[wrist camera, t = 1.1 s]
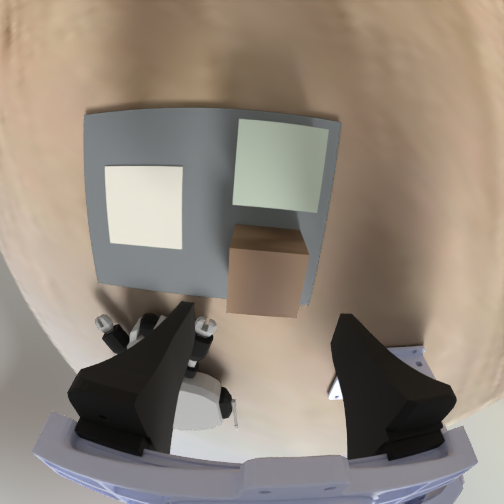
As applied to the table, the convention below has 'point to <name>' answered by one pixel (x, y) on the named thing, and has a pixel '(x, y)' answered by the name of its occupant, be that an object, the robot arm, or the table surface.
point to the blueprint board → (182, 197)
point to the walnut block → (266, 271)
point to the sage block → (279, 165)
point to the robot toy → (194, 383)
